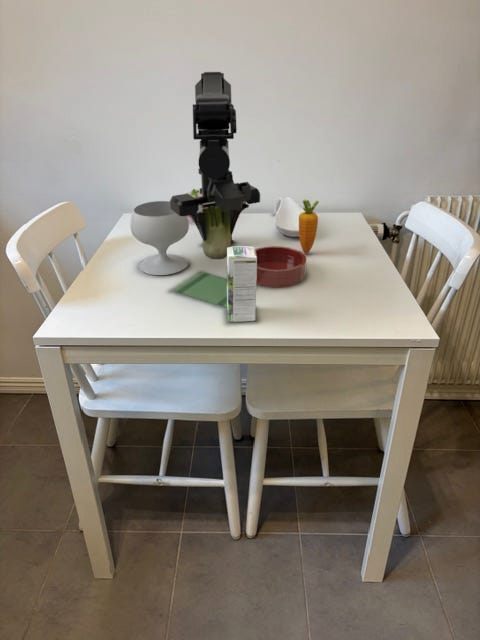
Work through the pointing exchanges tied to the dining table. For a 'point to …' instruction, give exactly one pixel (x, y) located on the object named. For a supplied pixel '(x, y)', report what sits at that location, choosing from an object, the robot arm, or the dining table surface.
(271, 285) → the bowl
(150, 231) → the chalice
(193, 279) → the tea towel
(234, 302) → the syrup box
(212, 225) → the fennel bulb
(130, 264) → the dining table surface
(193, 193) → the decorative fruit
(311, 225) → the carrot
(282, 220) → the white gravy boat
